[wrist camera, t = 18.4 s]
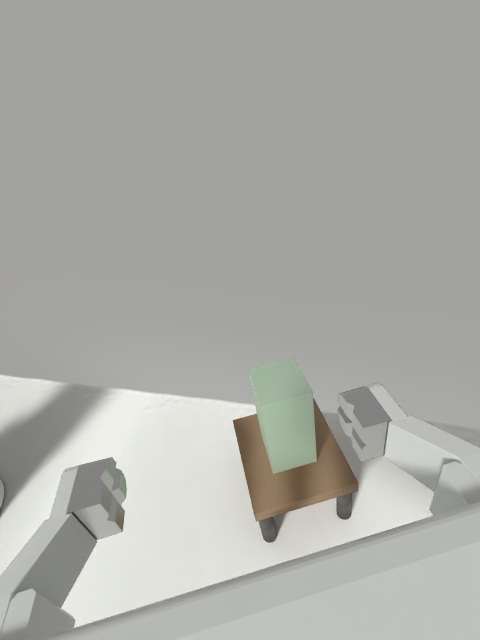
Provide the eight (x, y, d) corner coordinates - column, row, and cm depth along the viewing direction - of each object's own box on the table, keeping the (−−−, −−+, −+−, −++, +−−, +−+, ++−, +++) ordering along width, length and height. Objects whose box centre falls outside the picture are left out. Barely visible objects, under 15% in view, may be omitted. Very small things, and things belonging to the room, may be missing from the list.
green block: (273, 473, 36) (260, 406, 30) (261, 436, 40) (248, 370, 34) (316, 461, 36) (312, 391, 30) (301, 425, 40) (294, 357, 34)
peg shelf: (263, 546, 37) (254, 514, 33) (242, 454, 47) (232, 420, 43) (355, 518, 38) (358, 483, 34) (315, 433, 48) (313, 398, 43)
